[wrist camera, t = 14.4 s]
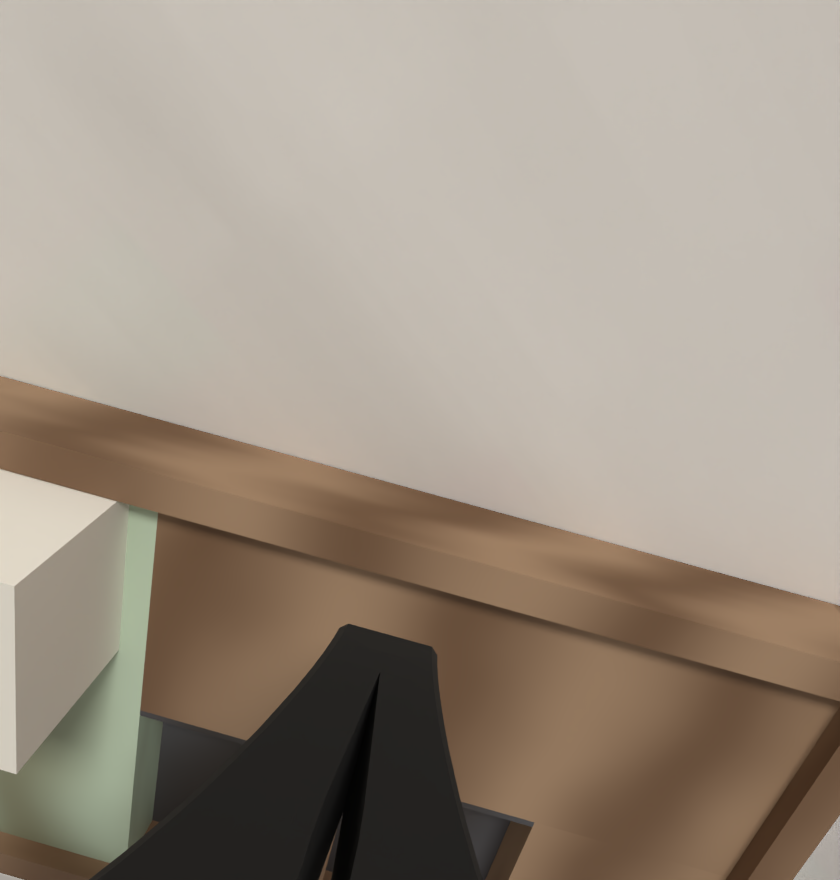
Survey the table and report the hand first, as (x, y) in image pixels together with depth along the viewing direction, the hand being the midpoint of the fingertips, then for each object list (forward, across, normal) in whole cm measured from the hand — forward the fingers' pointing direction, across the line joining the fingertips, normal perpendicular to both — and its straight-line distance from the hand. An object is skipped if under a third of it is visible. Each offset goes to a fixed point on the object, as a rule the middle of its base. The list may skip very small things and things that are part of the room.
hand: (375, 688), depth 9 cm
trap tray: (+8, +1, +9) cm, 12 cm away
